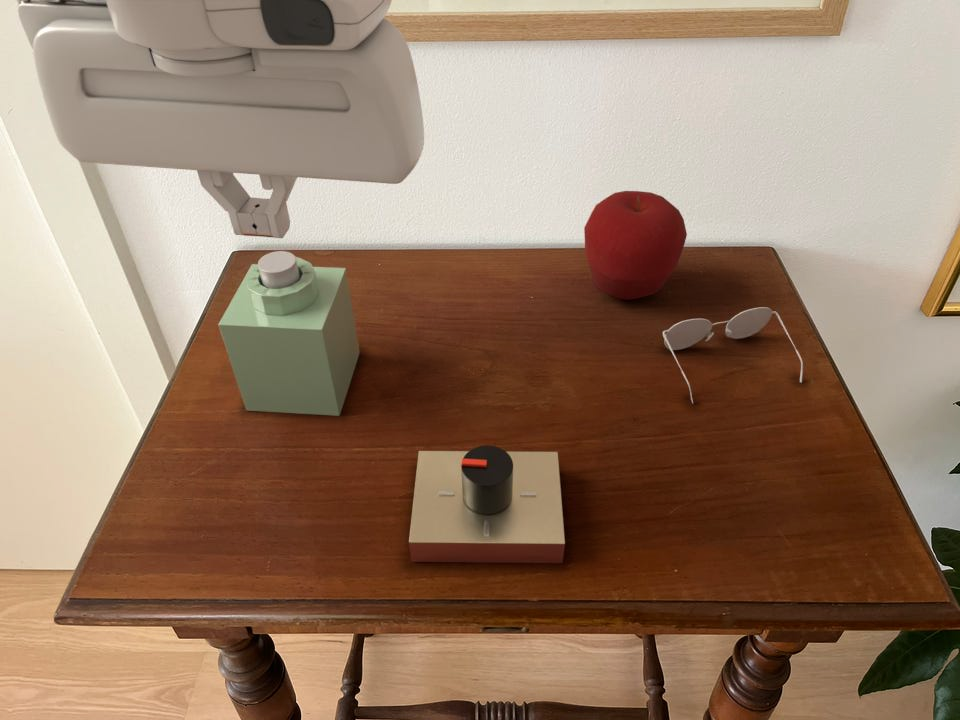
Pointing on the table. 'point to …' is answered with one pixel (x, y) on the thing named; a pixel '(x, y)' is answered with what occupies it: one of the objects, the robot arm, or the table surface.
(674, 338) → the sunglasses
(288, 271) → the grey cylindrical peg
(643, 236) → the apple
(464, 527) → the panel
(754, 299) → the table surface
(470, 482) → the knob
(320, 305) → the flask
